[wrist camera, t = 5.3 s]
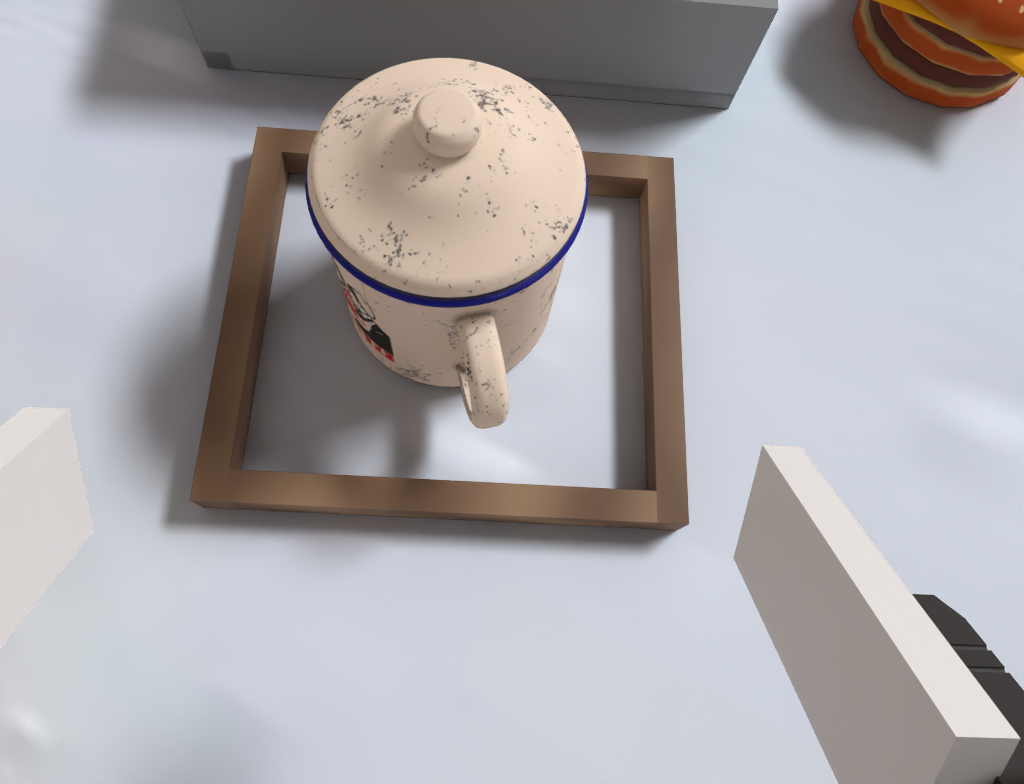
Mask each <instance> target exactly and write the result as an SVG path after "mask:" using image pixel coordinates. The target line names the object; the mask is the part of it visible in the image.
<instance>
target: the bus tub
mask: <svg viewBox="0 0 1024 784" xmlns="http://www.w3.org/2000/svg"><path fill="white" fill-rule="evenodd" d="M180 3H181V5H182V7H183V10H184V12H185V14H186V17H187V19H188V21H189V24H190V26H191V28H192V31H193V33H194V35H195V38H196V40H197V42H198V45H199V47H200V49H201V52H202V54H203V56H204V59H205V61H206V63H207V66H208V67H212V68H225V69H237V70H250V71H262V72H275V73H287V74H300V75H313V76H325V77H338V78H350V79H363V80H365V79H366V78H368V77H370V76H372V75H374V74H376V73H378V72H380V71H382V70H385V69H387V68H390V67H392V66H395V65H398V64H402V63H406V62H410V61H415V60H421V59H431V58H456V59H466V60H472V61H477V62H481V63H486V64H489V65H492V66H495V67H498V68H501V69H503V70H506V71H508V72H510V73H512V74H514V75H516V76H518V77H520V78H522V79H523V80H525V81H527V82H528V83H530V84H531V85H533V86H534V87H535V88H537V89H538V90H539V91H541V92H542V93H543V94H551V95H563V96H576V97H588V98H601V99H613V100H626V101H638V102H651V103H663V104H676V105H688V106H701V107H713V108H726V109H728V108H729V106H730V104H731V102H732V100H733V98H734V96H735V94H736V92H737V90H738V88H739V86H740V84H741V82H742V80H743V78H744V76H745V74H746V72H747V70H748V68H749V66H750V64H751V62H752V60H753V58H754V56H755V54H756V52H757V50H758V48H759V46H760V44H761V42H762V40H763V38H764V36H765V34H766V32H767V30H768V28H769V26H770V24H771V23H772V21H773V19H774V17H775V15H776V13H777V11H778V0H180Z"/></svg>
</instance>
